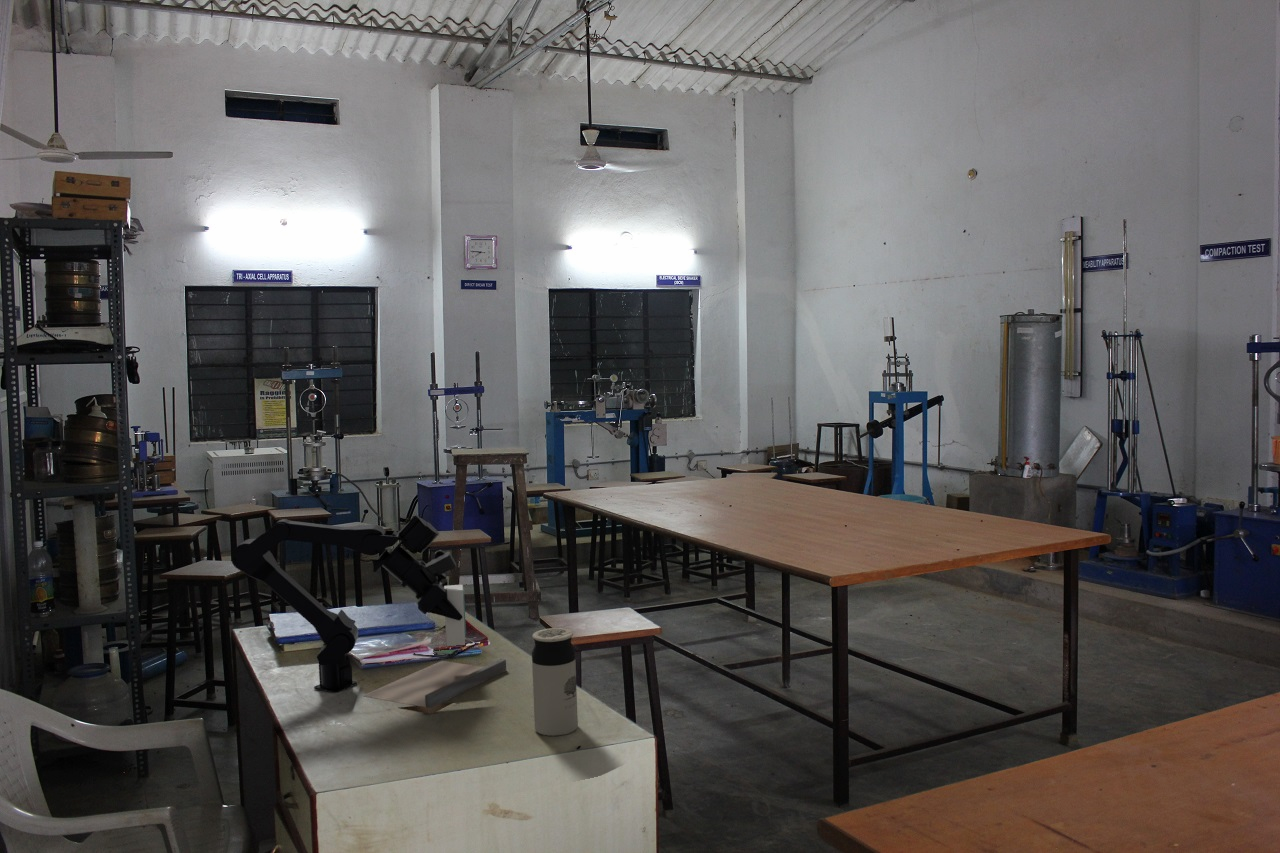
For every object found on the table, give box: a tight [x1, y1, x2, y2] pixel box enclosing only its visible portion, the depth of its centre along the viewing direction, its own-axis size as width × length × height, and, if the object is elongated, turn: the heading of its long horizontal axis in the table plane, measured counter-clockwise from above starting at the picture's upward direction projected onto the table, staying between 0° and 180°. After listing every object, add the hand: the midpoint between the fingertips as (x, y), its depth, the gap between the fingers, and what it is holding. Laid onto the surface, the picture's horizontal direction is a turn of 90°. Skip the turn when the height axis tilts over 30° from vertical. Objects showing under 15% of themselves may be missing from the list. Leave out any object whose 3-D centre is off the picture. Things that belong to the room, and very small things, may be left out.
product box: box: [444, 584, 467, 646], centre depth 208 cm, size 4×6×12 cm
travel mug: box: [531, 627, 579, 737], centre depth 176 cm, size 8×8×18 cm
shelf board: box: [362, 658, 507, 715], centre depth 202 cm, size 18×25×4 cm
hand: (461, 615), depth 209 cm, fingers closed on product box, 5 cm apart
